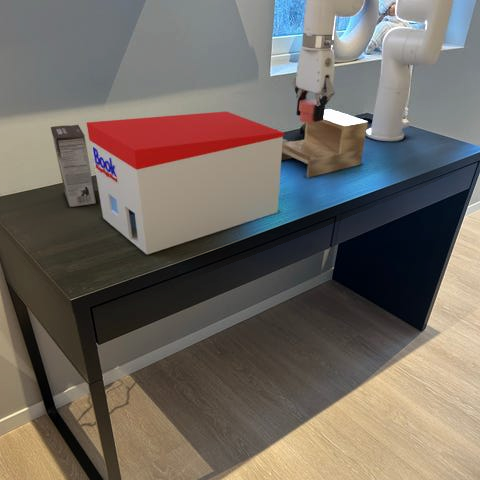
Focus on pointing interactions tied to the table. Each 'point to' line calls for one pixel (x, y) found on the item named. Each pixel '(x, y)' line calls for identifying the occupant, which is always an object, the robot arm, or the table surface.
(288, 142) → the soldier figure
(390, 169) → the table surface
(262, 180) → the bookstore
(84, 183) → the coffee box
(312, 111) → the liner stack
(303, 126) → the fossilized seashell
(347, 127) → the wooden step block
